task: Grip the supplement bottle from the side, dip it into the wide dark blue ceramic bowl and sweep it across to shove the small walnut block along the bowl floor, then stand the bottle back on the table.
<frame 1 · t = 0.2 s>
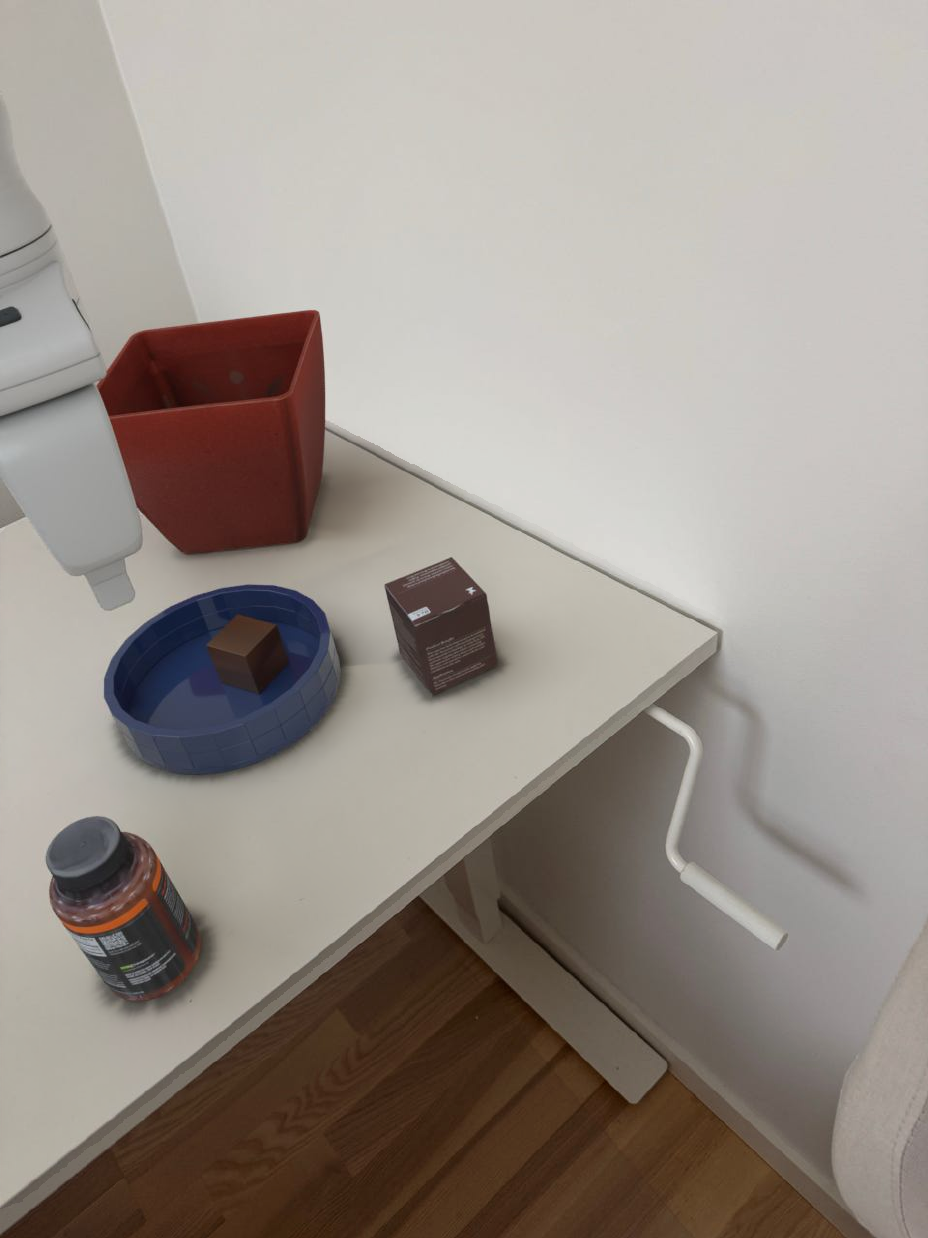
hand: (92, 560, 52), 22 cm above the table, tool pointing down, fingers open, 8 cm apart
bowl: (232, 691, 76), on the table
box: (449, 663, 76), on the table
supplement bottle: (156, 961, 58), on the table
block: (255, 672, 77), point 1 cm above the table, touching bowl
flower pot: (255, 517, 97), on the table
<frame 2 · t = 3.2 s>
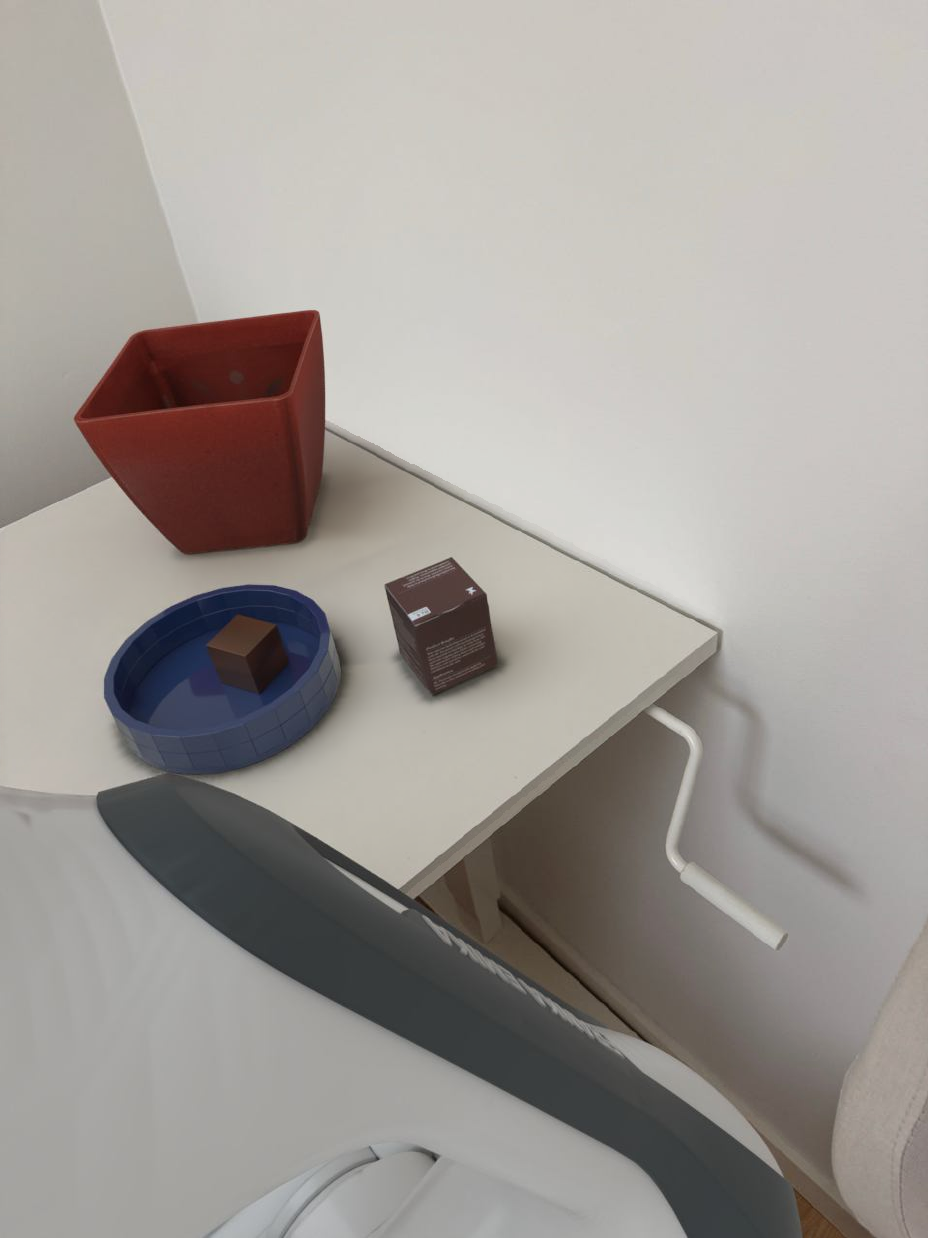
hand: (210, 1040, 46), 6 cm above the table, tool horizontal, fingers open, 8 cm apart
nothing on the table moved.
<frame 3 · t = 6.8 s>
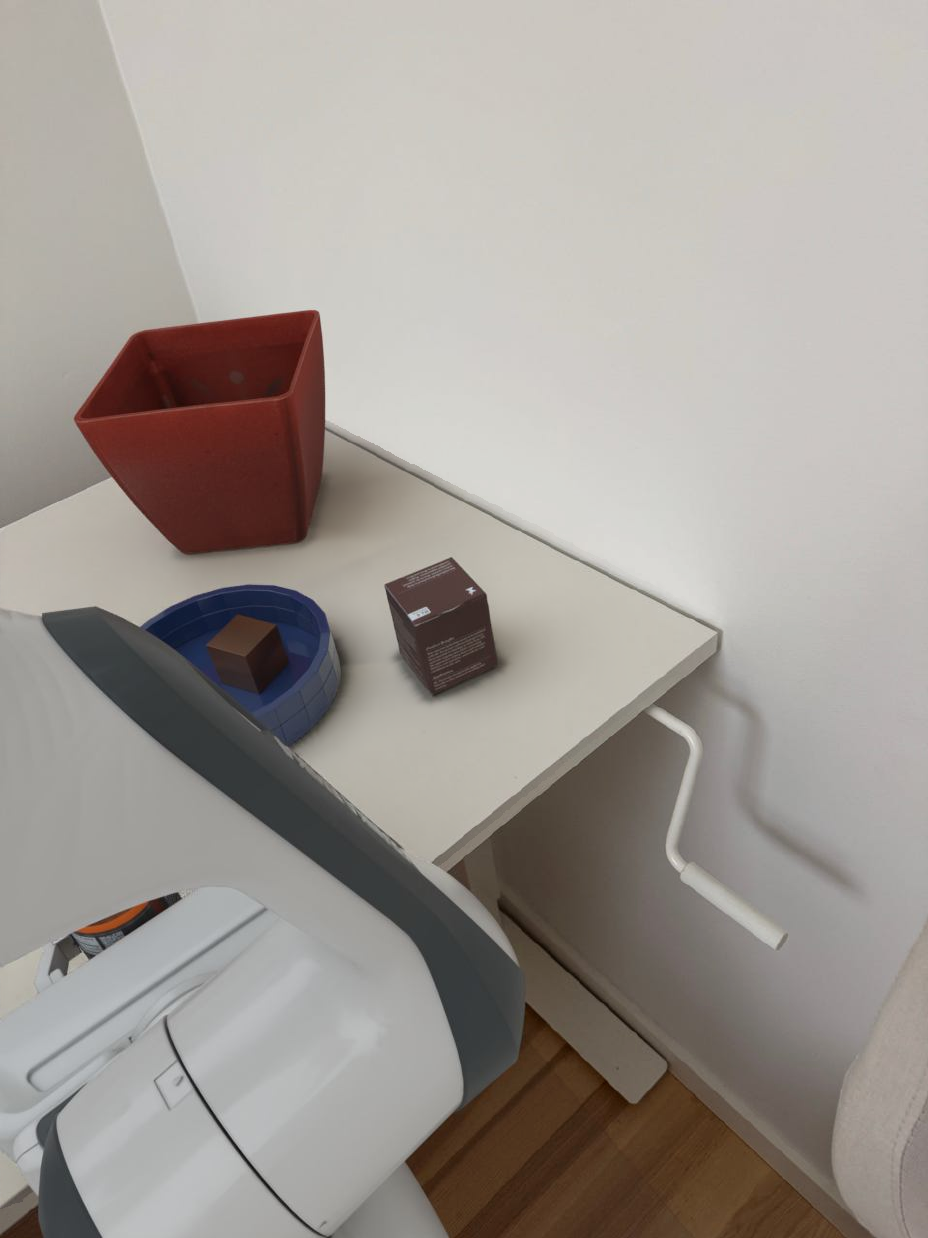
hand: (112, 892, 55), 6 cm above the table, tool horizontal, fingers closed on supplement bottle, 6 cm apart
supplement bottle: (156, 961, 58), on the table, touching gripper
everything else where it was.
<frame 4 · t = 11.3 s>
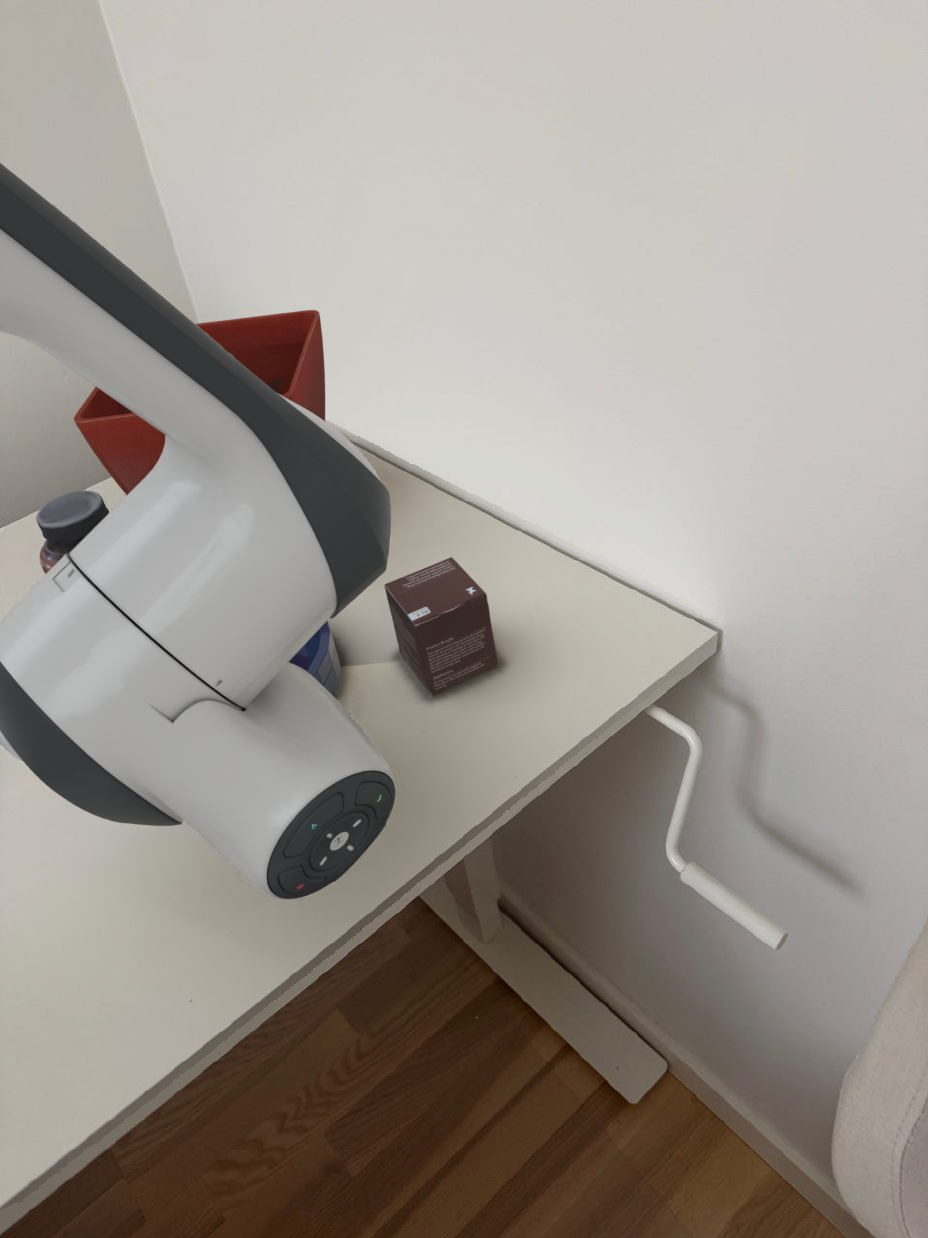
hand: (96, 572, 61), 17 cm above the table, tool horizontal, fingers closed on supplement bottle, 6 cm apart
supplement bottle: (137, 650, 64), point 11 cm above the table, touching gripper
everything else where it was.
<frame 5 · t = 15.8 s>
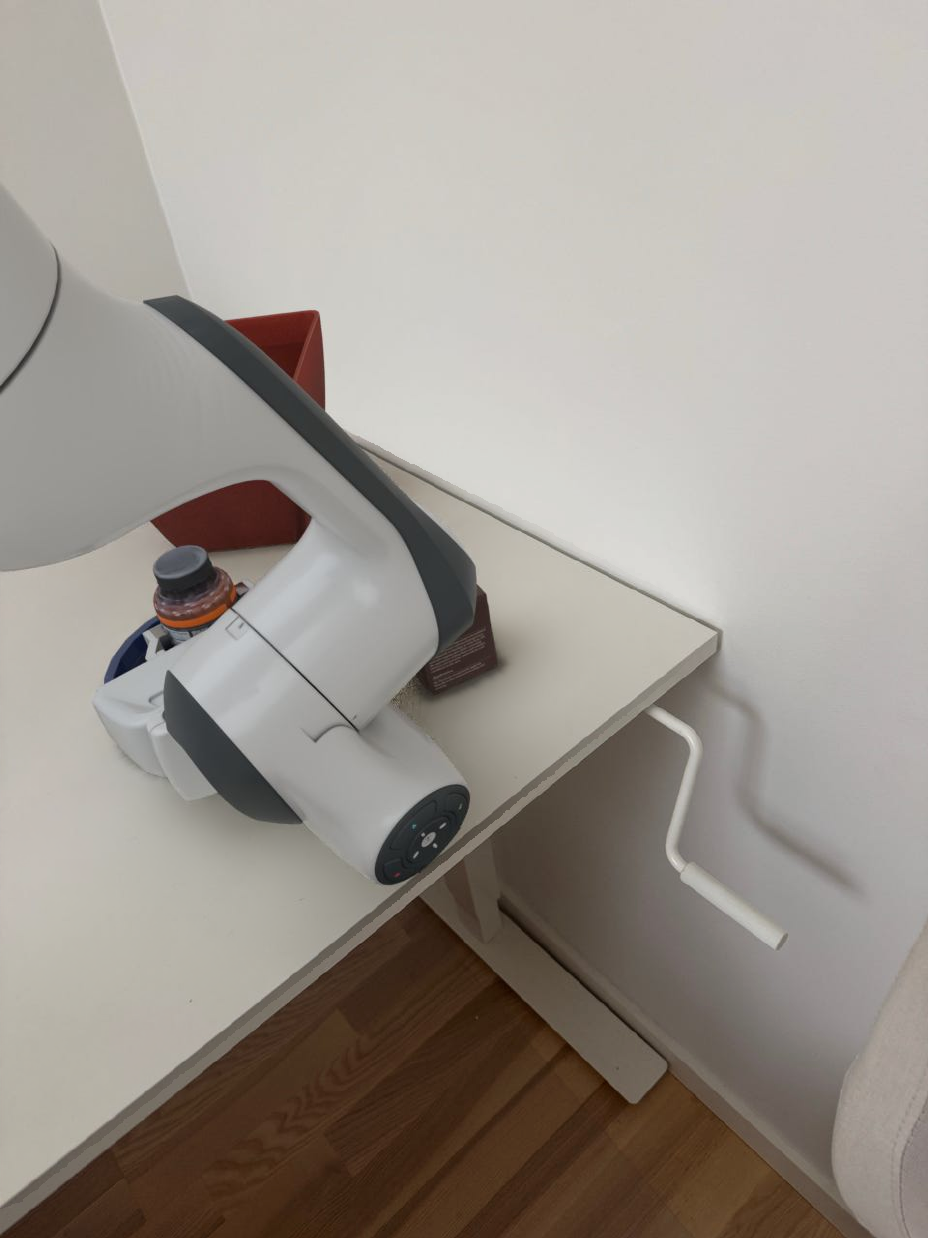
hand: (197, 612, 72), 8 cm above the table, tool horizontal, fingers closed on supplement bottle, 6 cm apart
supplement bottle: (227, 678, 75), point 1 cm above the table, touching block, gripper
block: (279, 650, 79), point 1 cm above the table, touching bowl, supplement bottle
everything else where it was.
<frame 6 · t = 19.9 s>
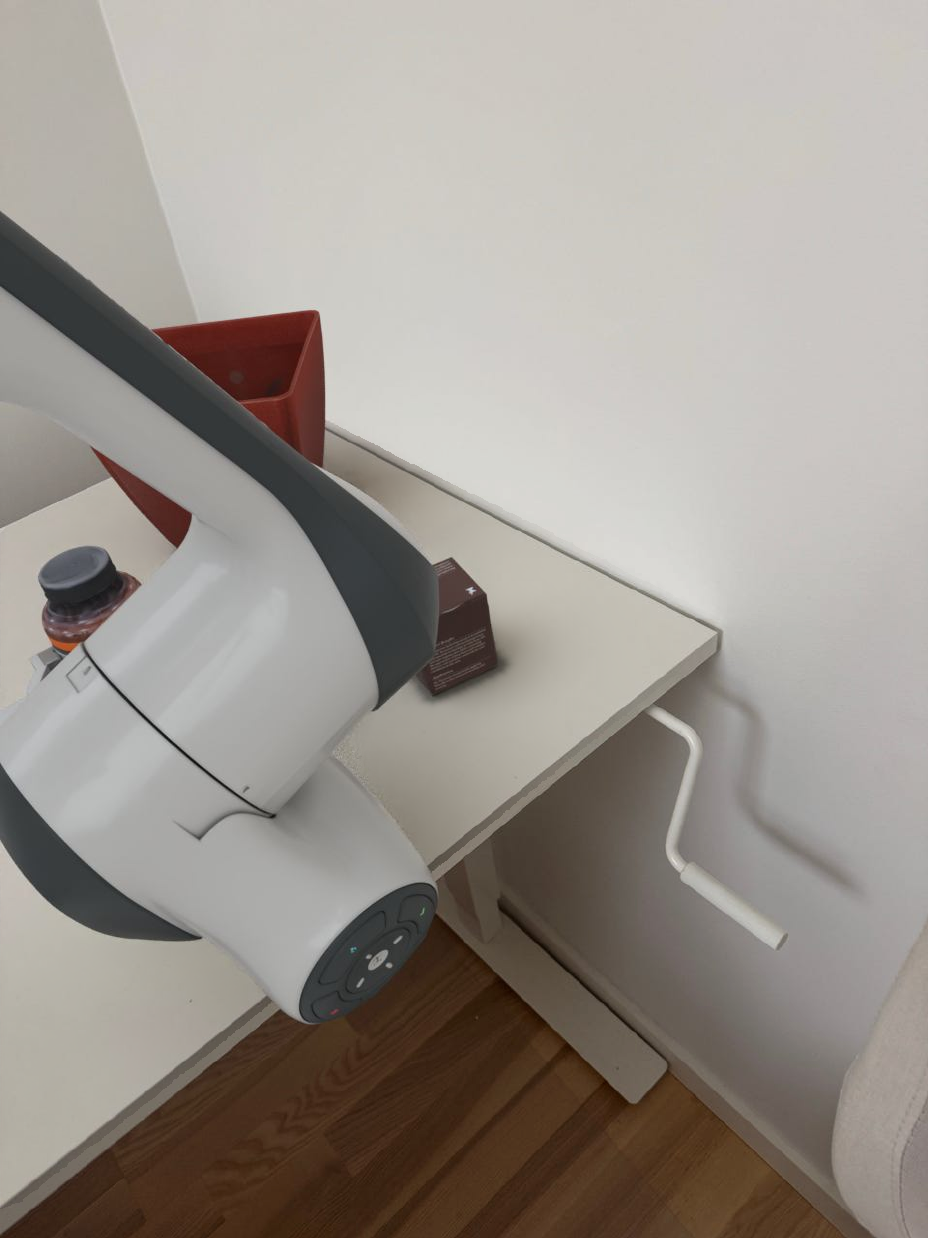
hand: (102, 631, 57), 16 cm above the table, tool horizontal, fingers closed on supplement bottle, 6 cm apart
supplement bottle: (146, 712, 60), point 10 cm above the table, touching gripper
block: (279, 651, 79), point 1 cm above the table, touching bowl
everything else where it was.
when the fingers open (6 cm above the table, at t = 23.4 s): supplement bottle stays where it is, on the table.
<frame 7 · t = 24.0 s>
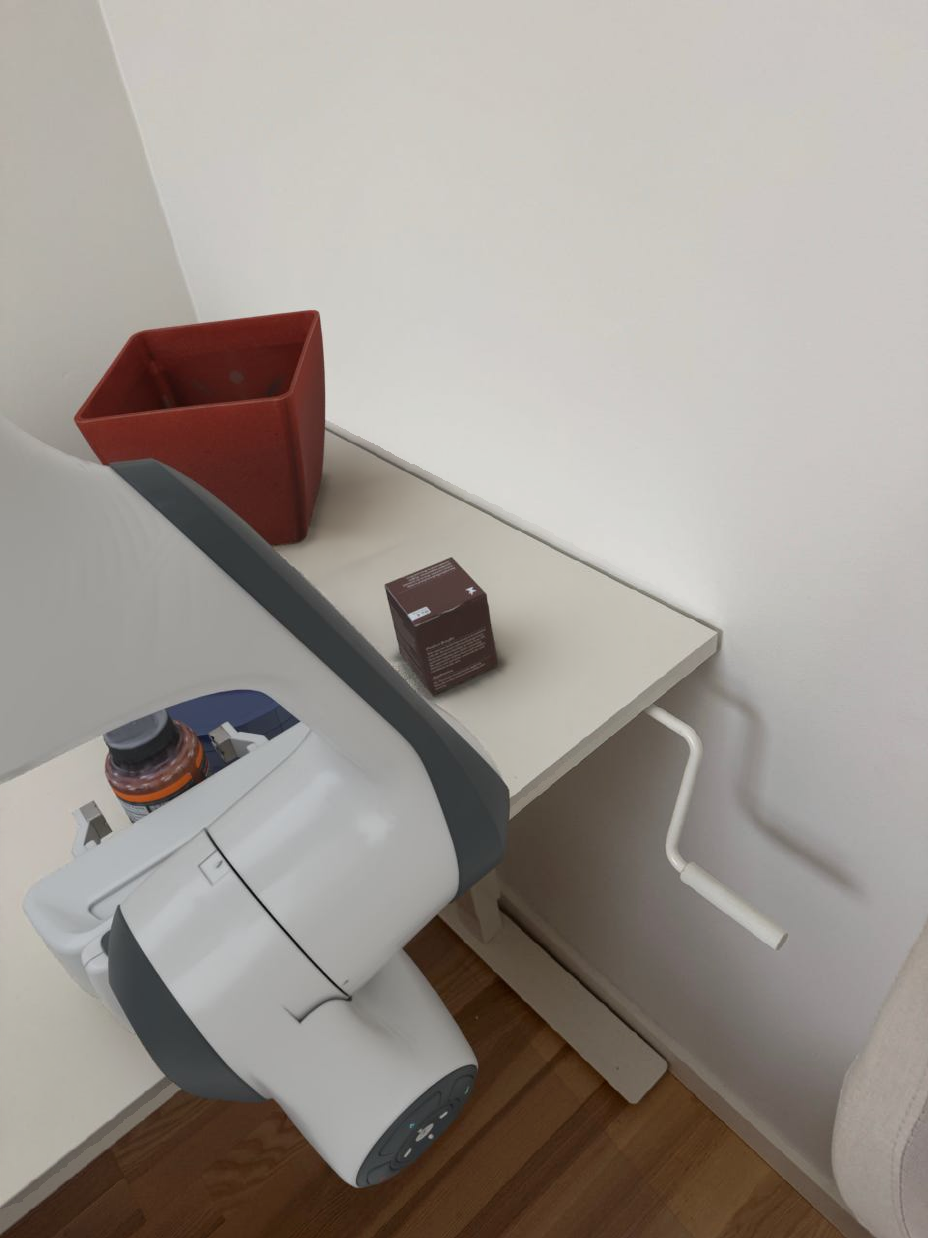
hand: (155, 772, 62), 6 cm above the table, tool horizontal, fingers open, 8 cm apart
supplement bottle: (195, 841, 65), on the table
everything else where it was.
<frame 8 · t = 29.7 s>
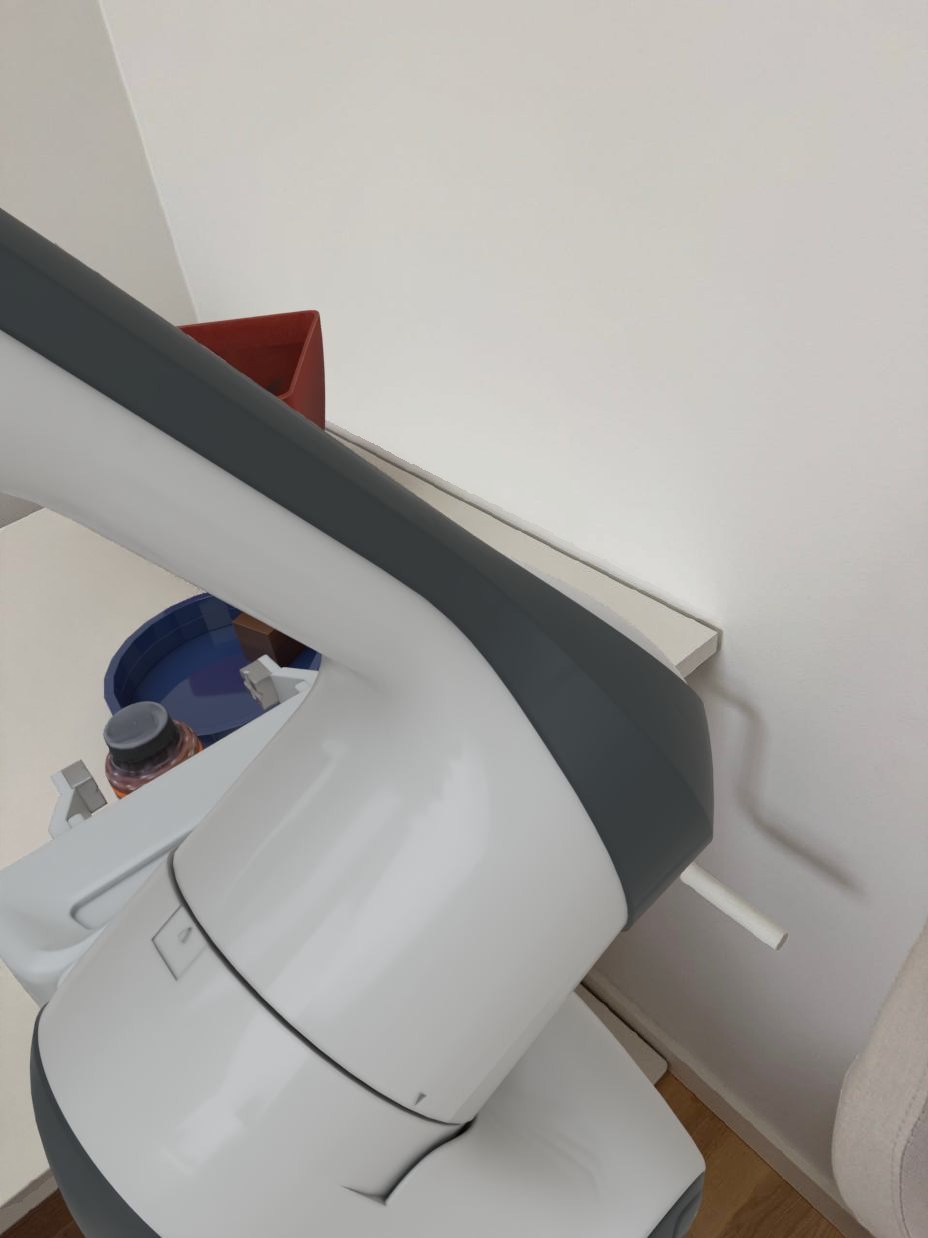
hand: (167, 722, 44), 20 cm above the table, tool horizontal, fingers open, 8 cm apart
nothing on the table moved.
at the end: block moved 2.9 cm from its start; block inside the target area in the bowl (5.1 cm from its centre), point 0.6 cm above the bowl's base; supplement bottle tilted 0° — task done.
